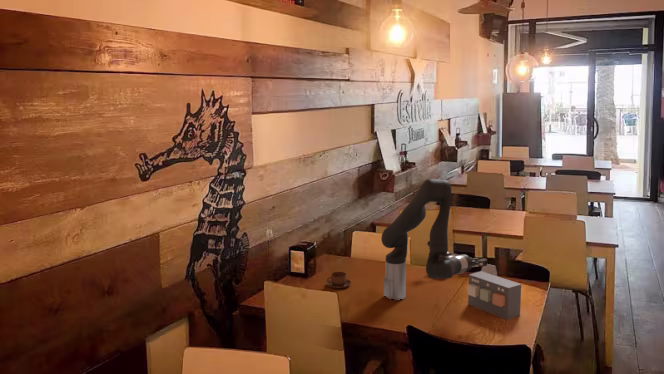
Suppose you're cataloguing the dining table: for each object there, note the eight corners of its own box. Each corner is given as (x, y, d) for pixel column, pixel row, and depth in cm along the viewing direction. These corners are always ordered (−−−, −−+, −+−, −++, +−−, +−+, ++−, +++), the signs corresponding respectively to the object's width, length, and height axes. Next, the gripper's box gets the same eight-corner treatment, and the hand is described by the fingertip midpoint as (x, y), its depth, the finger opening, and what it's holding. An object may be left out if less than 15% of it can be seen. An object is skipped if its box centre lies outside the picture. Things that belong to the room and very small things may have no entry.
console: (467, 304, 268) (468, 274, 265) (480, 300, 273) (481, 271, 270) (507, 320, 250) (508, 288, 248) (520, 315, 255) (521, 284, 252)
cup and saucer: (337, 292, 287) (337, 279, 286) (321, 285, 296) (321, 273, 295) (356, 286, 295) (355, 274, 294) (339, 280, 304) (339, 268, 303)
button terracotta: (492, 303, 253) (492, 293, 252) (499, 301, 255) (499, 291, 255) (500, 306, 249) (501, 296, 248) (507, 304, 252) (508, 294, 251)
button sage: (479, 299, 259) (479, 289, 258) (486, 296, 261) (487, 287, 260) (487, 301, 255) (487, 292, 254) (494, 299, 257) (495, 289, 257)
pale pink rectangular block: (492, 286, 291) (493, 266, 289) (480, 283, 296) (481, 264, 294) (496, 284, 294) (497, 265, 292) (484, 281, 298) (484, 262, 296)
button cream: (467, 294, 264) (467, 284, 263) (474, 292, 267) (474, 282, 266) (475, 297, 261) (475, 287, 260) (482, 295, 263) (482, 285, 262)
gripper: (475, 256, 243) (492, 252, 255) (443, 253, 252) (461, 249, 264) (475, 275, 243) (492, 270, 256) (443, 271, 252) (461, 266, 265)
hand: (476, 259), depth 260 cm, fingers open, 8 cm apart
